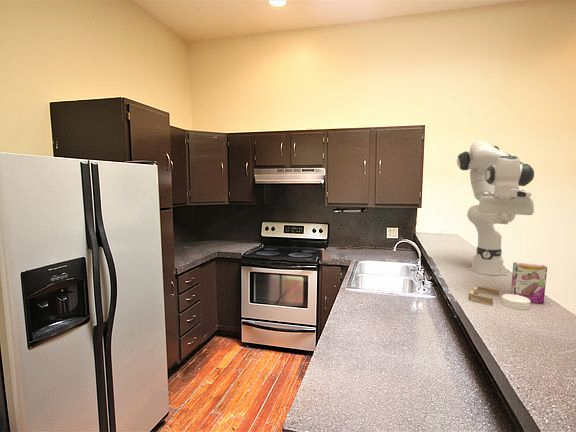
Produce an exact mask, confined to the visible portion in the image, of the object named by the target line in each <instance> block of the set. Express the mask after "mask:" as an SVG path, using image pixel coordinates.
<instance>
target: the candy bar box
mask: <svg viewBox="0 0 576 432" xmlns="http://www.w3.org/2000/svg"><path fill="white" fill-rule="evenodd" d="M512 263H513V264H512V272H511V284H510V285H511V286H510V294H514V295H520V296H523V297H526V298H528V299H529V300H530V301H531V302H530V304H537V305H544V304H545V293H546V282H547V273H548V267H547V266H546V265H544V264H540V263H526V262H512Z"/></svg>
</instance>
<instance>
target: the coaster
mask: <svg viewBox="0 0 576 432" xmlns="http://www.w3.org/2000/svg"><path fill="white" fill-rule="evenodd" d="M500 300H501V301H500V303H501V304H502V305H503V306H505V307H507V308H511V309H514V310H522V311H525V310H530V309H531V303H530V302H531V301H530V300H529V299H528V298H526V297H523V296H520V295H514V294H511V293H504V294H502V295H501V299H500Z"/></svg>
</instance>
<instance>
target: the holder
mask: <svg viewBox="0 0 576 432" xmlns="http://www.w3.org/2000/svg"><path fill="white" fill-rule="evenodd" d="M479 293H480V294H485V295H490V296H492V297H489V296H483V295H479ZM494 297H498V298H499V297H500V289H496V288H491V287H485V286H481V285H479V286H477V285H476V286H474V288H472V289H471V290H470V291H469V292H468V297H467V299H468V300H470V302H473V303H478V304H482V305H483V304H484V305H487V306H494Z"/></svg>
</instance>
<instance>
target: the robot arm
mask: <svg viewBox="0 0 576 432" xmlns="http://www.w3.org/2000/svg"><path fill="white" fill-rule="evenodd" d="M456 158H457V159H456V165H457V166H458V168H459V169H460V170H461V171H468V170H470V171H469V176H470V177H469V180H470V185H471V188H472V192H473V196H474V198H475V199H476V200H477V201H478V202H479V203H478V204H476V205H472V206H470V207H469V208H468V210H467V214H466V215H467V219H468V221H469V222H471V224H473V226H474V227H475V228H476V231H477V247H476V254H475V255H473V256H472V257H473V259H472V266H471V267H470V266H469V268H468V270H470V271H473V272H474V273H477V274H480V275H485V276H486V275H487V276H508V271H507V268H506V266H505V265H504V261H505V260H504V259H503V257H502V253H503V251H502V234H501V233H500V232H499V231H496V229H495V228H494V227H495V226H494V224H495V225H496V224H497V225H498V224H500V225H508V224H509V223H512V222H513V221H514V220H515V218H516V215H518V216H521V215H522V216H532V215H534V213H535V206H534V200H533V199H532V198H531V197H532V192H530V191H526V190H525V189H520V187H525V186H527V185H528V184H531V182H532V181H533V180H534V178H535V171H534V168H533V167H532V166H531V165H530V164H528V163H523V162H522V161H520V158H519V157H518V156H516V155H511V154H509V153H507V152H504V151H503V150H501V149H500V148H499V147H498V145H493V144H492V143H491V142H489V141H487V140H484V139H477V140H476V141H473V143H472V144H471V145H470V149H469V150H467V151H466V150H465V151H463V152H461V153H459V154H458V156H457V157H456Z"/></svg>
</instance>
